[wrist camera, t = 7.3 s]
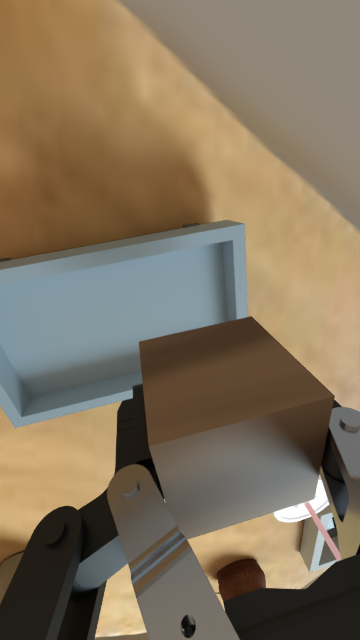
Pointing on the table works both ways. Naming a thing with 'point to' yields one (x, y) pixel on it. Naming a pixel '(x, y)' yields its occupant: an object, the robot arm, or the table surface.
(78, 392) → the light blue tray
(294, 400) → the walnut block
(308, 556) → the light grey tray
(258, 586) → the ceramic pot
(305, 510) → the beverage cup
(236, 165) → the table surface
